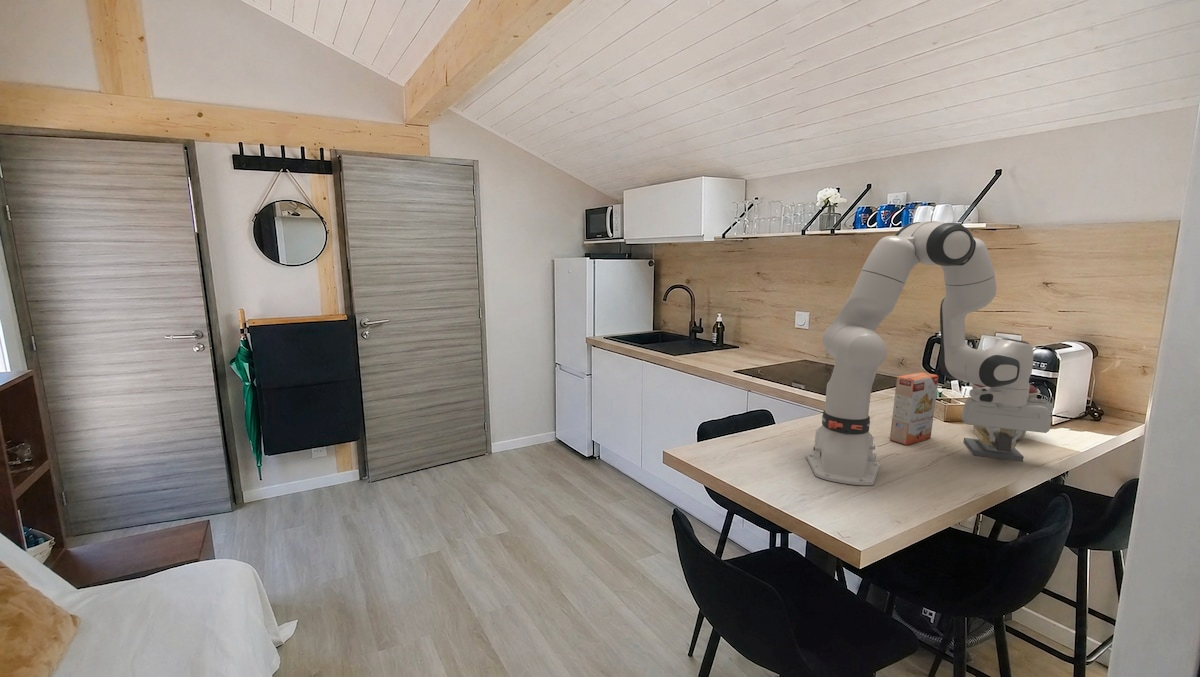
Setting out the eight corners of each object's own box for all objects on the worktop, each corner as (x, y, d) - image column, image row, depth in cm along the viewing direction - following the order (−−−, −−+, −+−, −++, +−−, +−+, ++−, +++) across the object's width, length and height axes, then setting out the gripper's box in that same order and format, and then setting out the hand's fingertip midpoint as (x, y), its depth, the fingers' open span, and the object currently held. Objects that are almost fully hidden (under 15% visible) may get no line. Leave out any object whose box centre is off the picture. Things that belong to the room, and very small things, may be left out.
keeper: (1023, 461, 154) (1028, 421, 152) (973, 455, 158) (978, 415, 156) (1009, 447, 164) (1014, 409, 163) (963, 442, 169) (967, 405, 167)
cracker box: (907, 446, 165) (915, 379, 161) (888, 440, 170) (895, 375, 166) (932, 438, 172) (940, 374, 169) (913, 433, 177) (920, 371, 174)
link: (973, 433, 167) (974, 420, 166) (1004, 436, 164) (1006, 424, 163) (987, 449, 153) (988, 435, 152) (1021, 453, 150) (1023, 439, 149)
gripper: (1049, 397, 150) (1042, 444, 153) (963, 389, 158) (957, 434, 160) (1058, 402, 145) (1051, 452, 147) (968, 394, 152) (963, 441, 154)
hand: (1001, 442), depth 153 cm, fingers closed on link, 3 cm apart
